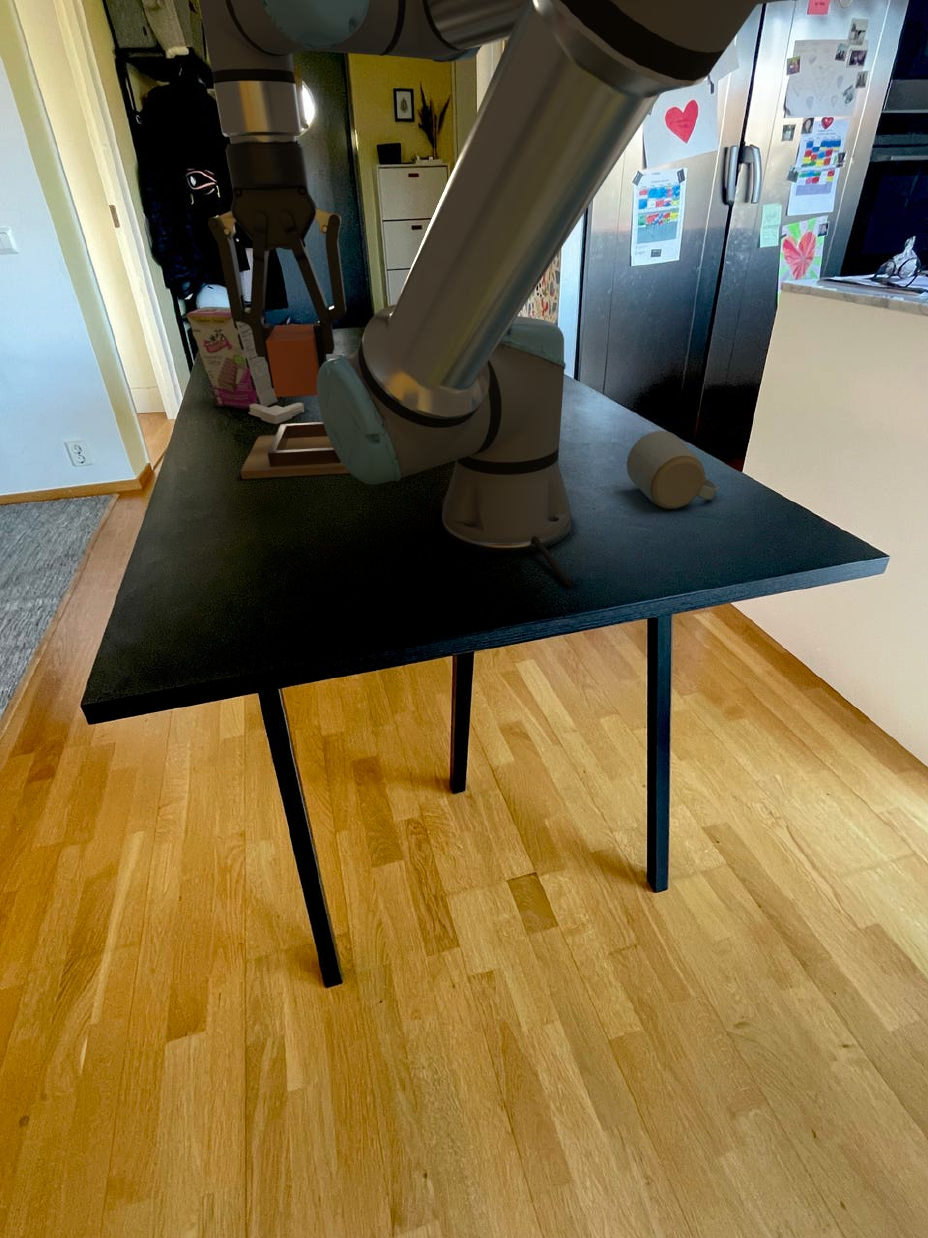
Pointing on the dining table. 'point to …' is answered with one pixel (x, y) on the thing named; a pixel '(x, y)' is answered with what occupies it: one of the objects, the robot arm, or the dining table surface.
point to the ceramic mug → (668, 471)
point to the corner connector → (276, 412)
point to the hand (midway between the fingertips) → (301, 383)
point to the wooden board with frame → (293, 453)
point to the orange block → (293, 360)
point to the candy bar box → (231, 359)
